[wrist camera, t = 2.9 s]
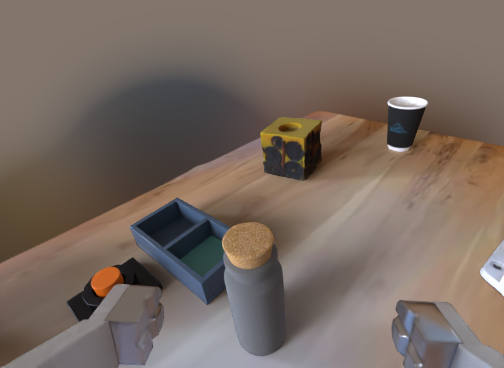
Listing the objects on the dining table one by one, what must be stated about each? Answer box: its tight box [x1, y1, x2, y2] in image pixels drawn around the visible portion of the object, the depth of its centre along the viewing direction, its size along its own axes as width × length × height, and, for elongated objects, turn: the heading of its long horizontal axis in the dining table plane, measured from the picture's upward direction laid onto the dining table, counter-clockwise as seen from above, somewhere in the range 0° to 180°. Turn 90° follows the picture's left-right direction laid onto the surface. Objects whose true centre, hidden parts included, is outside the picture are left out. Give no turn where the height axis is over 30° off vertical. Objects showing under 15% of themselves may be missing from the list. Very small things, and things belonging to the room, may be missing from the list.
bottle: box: [222, 222, 286, 356], centre depth 30 cm, size 6×6×15 cm
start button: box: [91, 267, 124, 297], centre depth 38 cm, size 4×4×2 cm
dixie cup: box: [387, 97, 428, 152], centre depth 65 cm, size 8×8×11 cm
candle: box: [261, 117, 322, 181], centre depth 62 cm, size 10×10×10 cm
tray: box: [130, 198, 231, 305], centre depth 44 cm, size 10×18×4 cm, turn 48°
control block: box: [66, 257, 163, 322], centre depth 39 cm, size 10×8×3 cm
